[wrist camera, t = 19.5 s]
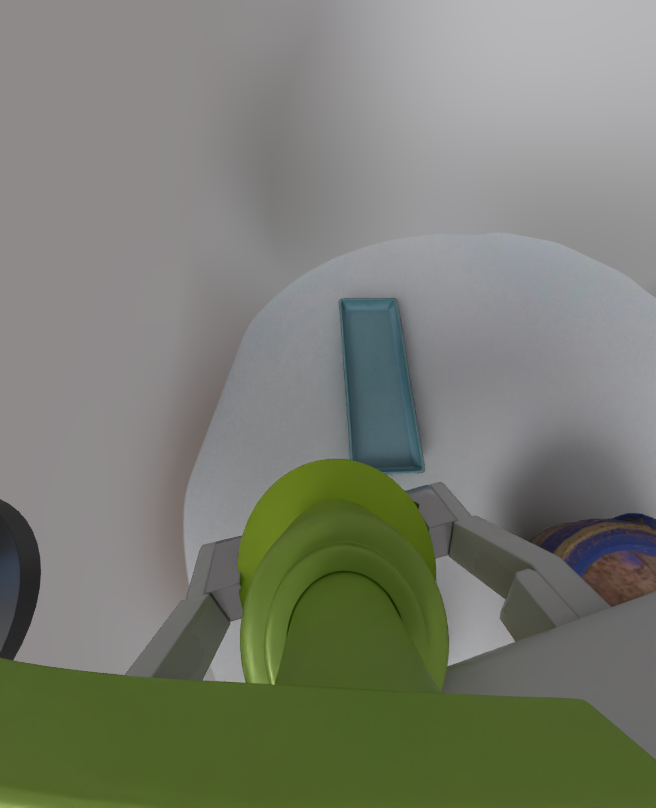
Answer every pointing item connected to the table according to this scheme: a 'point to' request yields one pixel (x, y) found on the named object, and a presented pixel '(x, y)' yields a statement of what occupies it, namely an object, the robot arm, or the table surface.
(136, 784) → the soap dispenser
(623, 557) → the bowl
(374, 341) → the rectangular tray
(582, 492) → the table surface
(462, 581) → the table surface
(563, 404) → the table surface
